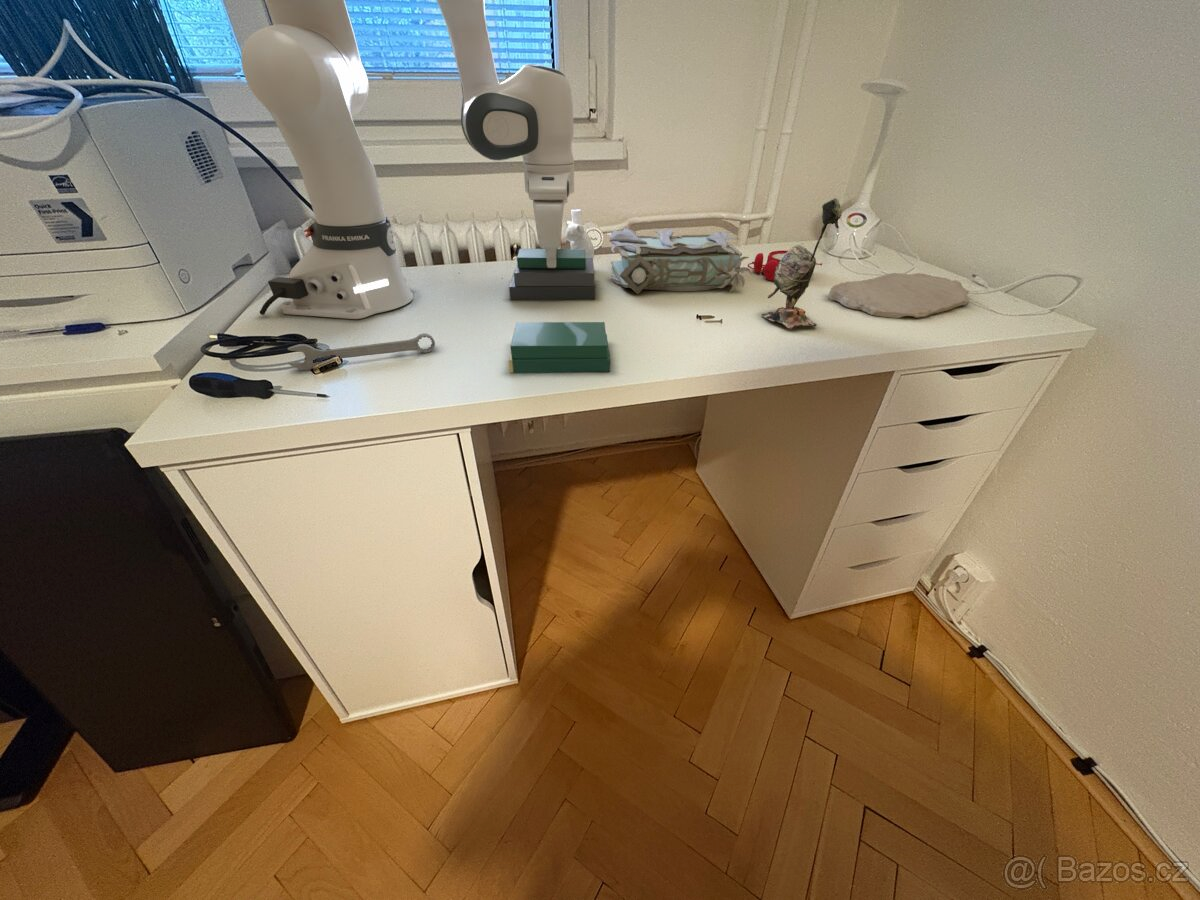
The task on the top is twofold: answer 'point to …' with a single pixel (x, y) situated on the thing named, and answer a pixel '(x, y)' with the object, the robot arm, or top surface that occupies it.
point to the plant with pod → (799, 274)
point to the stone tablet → (901, 295)
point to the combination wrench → (357, 350)
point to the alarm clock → (768, 263)
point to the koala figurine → (578, 234)
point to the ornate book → (676, 261)
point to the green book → (563, 259)
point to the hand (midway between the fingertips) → (552, 261)
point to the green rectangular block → (559, 347)
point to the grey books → (553, 283)
